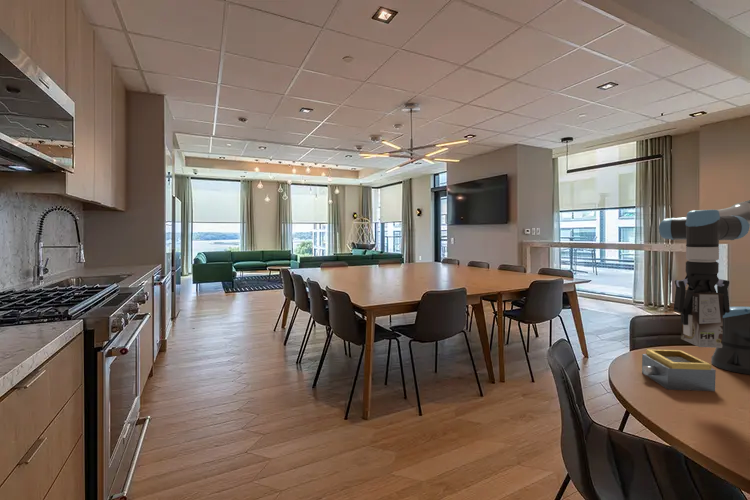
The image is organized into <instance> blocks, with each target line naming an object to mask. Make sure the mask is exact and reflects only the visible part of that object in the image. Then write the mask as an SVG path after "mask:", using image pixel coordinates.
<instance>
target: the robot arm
mask: <svg viewBox="0 0 750 500" xmlns="http://www.w3.org/2000/svg"><path fill="white" fill-rule="evenodd" d="M749 231H750V200H745V201H741V202H737V203H735V204H733V205H731V206H730V207H726V208H721V209H697V210H695V209H694V210H690V211H687V213H686V216H683V217H670V218H664V219H663V220H661V221H660V223H659V225H658V233H659V235H660V236H661V238H662V239H664V240H673V241H675V240H681V241H682V240H685V242H686V243H685V260H687V261H685V273H686V276H685V277H684V279H675V281H674V285H675V293H674V295H675V296H674V303H673V311H674V312H677V313H679V314H680V325H681V324H683V334H685V335H687V336H692V315H690V311H691V309H692V296H693V294H691V293H689V292H692V293H699V292H700V291H708V292H715V293H720V294H723V336H722V348H715V350H714V351H713V355H712V356H711V361H710V362H711V363H710V364H711V365H713V366H714V367H717V368H718V369H721V370H725V371H727V372H732V373H738V374H743V375H750V306H730V300H729V285H730V281H729V280H726V279H720V278H719V277H718V274H719V272H720V271H719V267H720V266H719V265H720V264H719V262H718V260H720V241H735V240H740V239H743V238H744V237H746V236H747V235H748V233H749ZM687 286H688V287H687ZM715 286H716V287H715ZM686 287H687V288H686ZM686 290H687V294H686V297H685V291H686ZM693 290H694V291H693Z"/></svg>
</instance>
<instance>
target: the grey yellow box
mask: <svg viewBox="0 0 750 500" xmlns="http://www.w3.org/2000/svg"><path fill="white" fill-rule="evenodd" d="M645 351H646V353H642V354H641V355H642V358H641V359H642V360H641V373H642V374H643V375H644V376H645V377H647V378H649V379H650V380H652V381H654V382H655V383H657V384H658V385H660V386H662V387H663V388H664V389H665V390H670V391H671V390H673V391H674V390H675V391H676V390H677V391H698V392H701V391H702V392H716V377H717V375H716V374H717V373H716V372H717V370H716V369H714V368H712V363H709V362H707V361H704V360H703V359H700V358H699V357H697V356H694V355H692V354H690V353H687V352H685V351H683V350H681V349H652V348H651V349H648V348H647V349H646V350H645Z"/></svg>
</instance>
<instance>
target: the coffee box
mask: <svg viewBox="0 0 750 500" xmlns="http://www.w3.org/2000/svg"><path fill="white" fill-rule="evenodd" d="M693 291H694V290H693ZM689 293H691V294H693V296H692V309H691V311H690V315H692V336H687V335H685V334H683V324H681V323H680V340H683V341H685V342H688V343H689V344H692V345H693V346H696V347H698V348H713V349H714V348H715V349H716V348H722V336H723V294H720V293H715V292H708V291H700V292H699V293H692V292H689ZM686 294H687V289H686V291H685V297H686Z"/></svg>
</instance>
